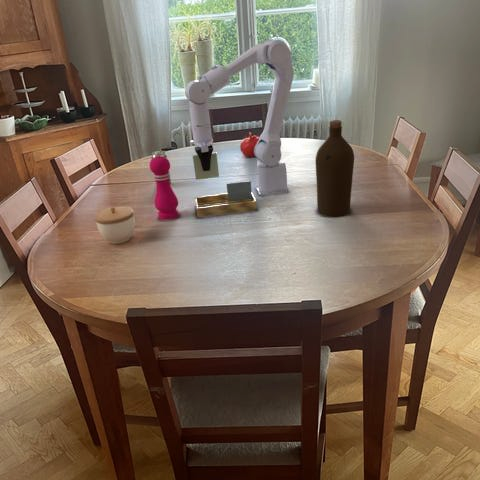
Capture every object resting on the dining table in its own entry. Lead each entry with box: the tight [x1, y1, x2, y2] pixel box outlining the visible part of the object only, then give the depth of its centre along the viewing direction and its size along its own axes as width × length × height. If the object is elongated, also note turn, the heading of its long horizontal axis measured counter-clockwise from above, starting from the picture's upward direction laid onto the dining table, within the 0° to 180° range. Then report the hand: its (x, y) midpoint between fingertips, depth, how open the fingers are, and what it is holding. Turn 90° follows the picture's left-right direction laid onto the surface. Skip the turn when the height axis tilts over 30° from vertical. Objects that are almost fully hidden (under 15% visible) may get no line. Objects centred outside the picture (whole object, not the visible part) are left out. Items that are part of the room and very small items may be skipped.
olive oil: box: [315, 119, 355, 218], centre depth 135 cm, size 11×11×25 cm
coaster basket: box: [194, 192, 258, 218], centre depth 150 cm, size 18×11×3 cm, turn 97°
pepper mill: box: [149, 150, 180, 221], centre depth 144 cm, size 7×7×20 cm
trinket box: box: [93, 206, 136, 244], centre depth 135 cm, size 11×11×9 cm
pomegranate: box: [239, 131, 260, 158], centre depth 199 cm, size 10×10×9 cm
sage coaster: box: [192, 151, 220, 180], centre depth 151 cm, size 8×1×8 cm, turn 97°
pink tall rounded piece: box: [150, 150, 172, 185], centre depth 173 cm, size 5×5×12 cm
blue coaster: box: [225, 180, 253, 202], centre depth 149 cm, size 8×1×8 cm, turn 97°
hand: (206, 170), depth 152 cm, fingers closed on sage coaster, 1 cm apart
